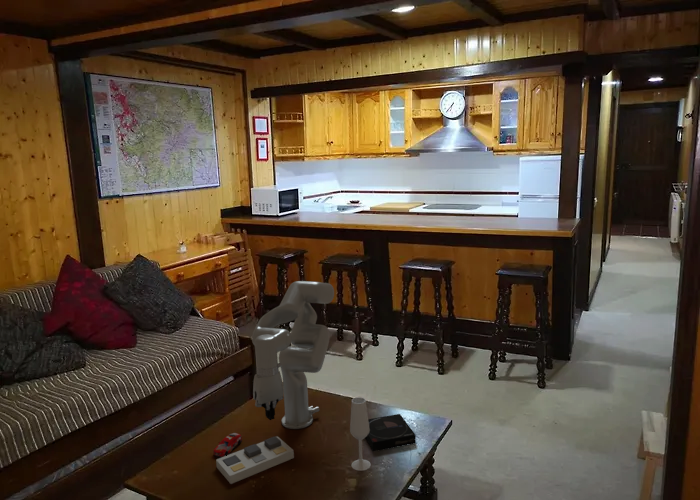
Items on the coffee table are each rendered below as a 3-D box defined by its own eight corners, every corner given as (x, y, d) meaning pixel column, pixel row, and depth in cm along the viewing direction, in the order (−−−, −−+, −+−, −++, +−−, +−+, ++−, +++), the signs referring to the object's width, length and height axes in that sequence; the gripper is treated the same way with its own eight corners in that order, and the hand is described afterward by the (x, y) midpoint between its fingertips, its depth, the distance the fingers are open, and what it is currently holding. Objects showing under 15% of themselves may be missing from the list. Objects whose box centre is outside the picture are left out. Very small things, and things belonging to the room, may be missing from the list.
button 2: (275, 443, 197) (275, 436, 197) (281, 448, 194) (280, 441, 193) (264, 447, 195) (264, 440, 194) (270, 453, 191) (269, 445, 191)
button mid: (255, 451, 193) (255, 443, 192) (261, 456, 189) (260, 449, 189) (244, 455, 190) (243, 448, 190) (250, 461, 187) (249, 453, 186)
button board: (277, 443, 200) (277, 435, 199) (293, 457, 190) (293, 449, 190) (216, 467, 186) (216, 459, 186) (230, 484, 177) (230, 475, 176)
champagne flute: (357, 472, 180) (354, 407, 176) (347, 462, 186) (345, 398, 182) (374, 466, 183) (372, 401, 179) (364, 457, 189) (362, 394, 185)
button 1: (235, 463, 188) (234, 455, 188) (240, 468, 185) (240, 460, 184) (223, 467, 186) (222, 459, 185) (228, 473, 182) (228, 465, 182)
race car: (222, 460, 191) (221, 450, 191) (210, 456, 194) (209, 446, 193) (244, 441, 203) (244, 431, 202) (233, 438, 205) (232, 428, 204)
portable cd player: (399, 422, 213) (399, 413, 212) (415, 444, 197) (415, 434, 196) (359, 429, 209) (359, 419, 208) (373, 452, 193) (372, 442, 192)
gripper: (281, 361, 196) (283, 408, 199) (243, 372, 187) (246, 420, 190) (291, 367, 190) (293, 415, 193) (252, 379, 181) (256, 429, 184)
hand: (270, 418), depth 192 cm, fingers closed
